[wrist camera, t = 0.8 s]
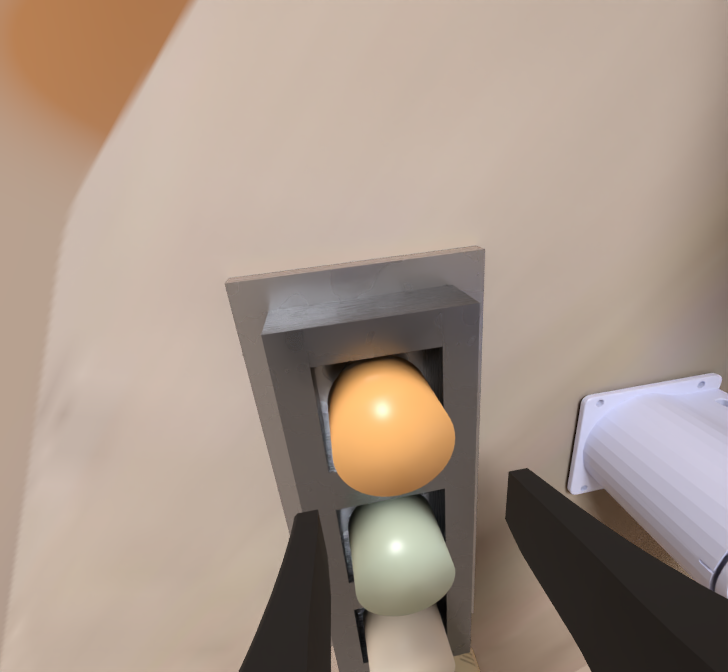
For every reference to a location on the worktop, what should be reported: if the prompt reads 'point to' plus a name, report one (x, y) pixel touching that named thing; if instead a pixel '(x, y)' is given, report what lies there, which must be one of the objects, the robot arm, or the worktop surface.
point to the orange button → (387, 427)
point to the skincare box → (466, 662)
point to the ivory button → (408, 642)
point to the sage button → (398, 556)
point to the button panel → (328, 359)
